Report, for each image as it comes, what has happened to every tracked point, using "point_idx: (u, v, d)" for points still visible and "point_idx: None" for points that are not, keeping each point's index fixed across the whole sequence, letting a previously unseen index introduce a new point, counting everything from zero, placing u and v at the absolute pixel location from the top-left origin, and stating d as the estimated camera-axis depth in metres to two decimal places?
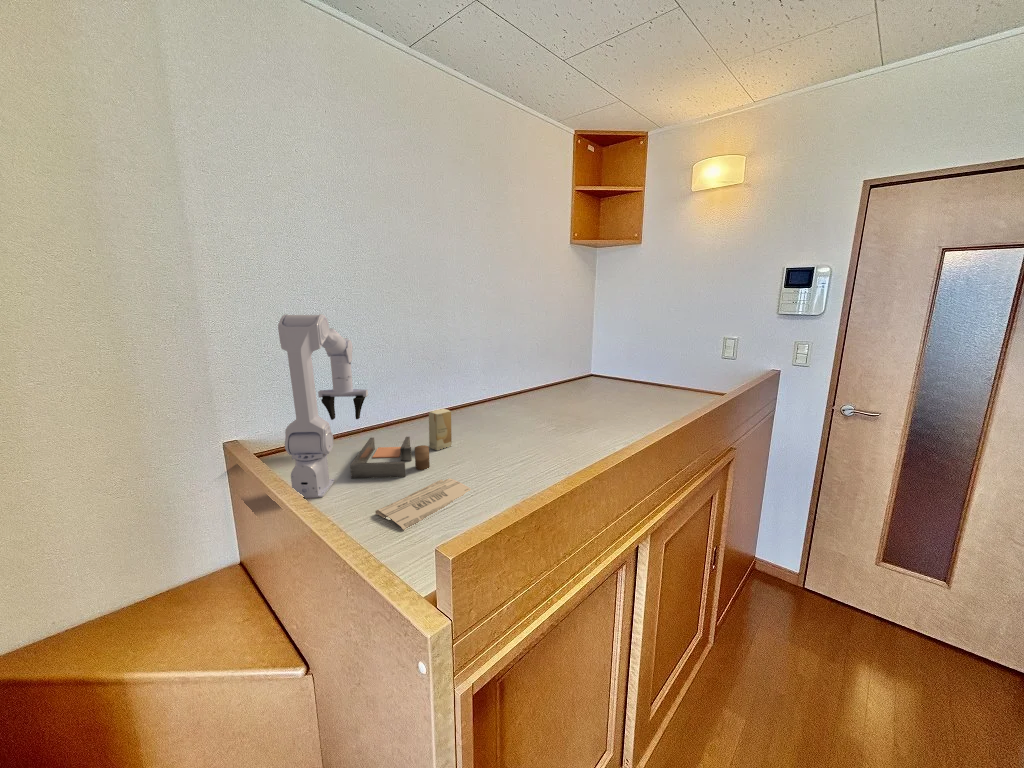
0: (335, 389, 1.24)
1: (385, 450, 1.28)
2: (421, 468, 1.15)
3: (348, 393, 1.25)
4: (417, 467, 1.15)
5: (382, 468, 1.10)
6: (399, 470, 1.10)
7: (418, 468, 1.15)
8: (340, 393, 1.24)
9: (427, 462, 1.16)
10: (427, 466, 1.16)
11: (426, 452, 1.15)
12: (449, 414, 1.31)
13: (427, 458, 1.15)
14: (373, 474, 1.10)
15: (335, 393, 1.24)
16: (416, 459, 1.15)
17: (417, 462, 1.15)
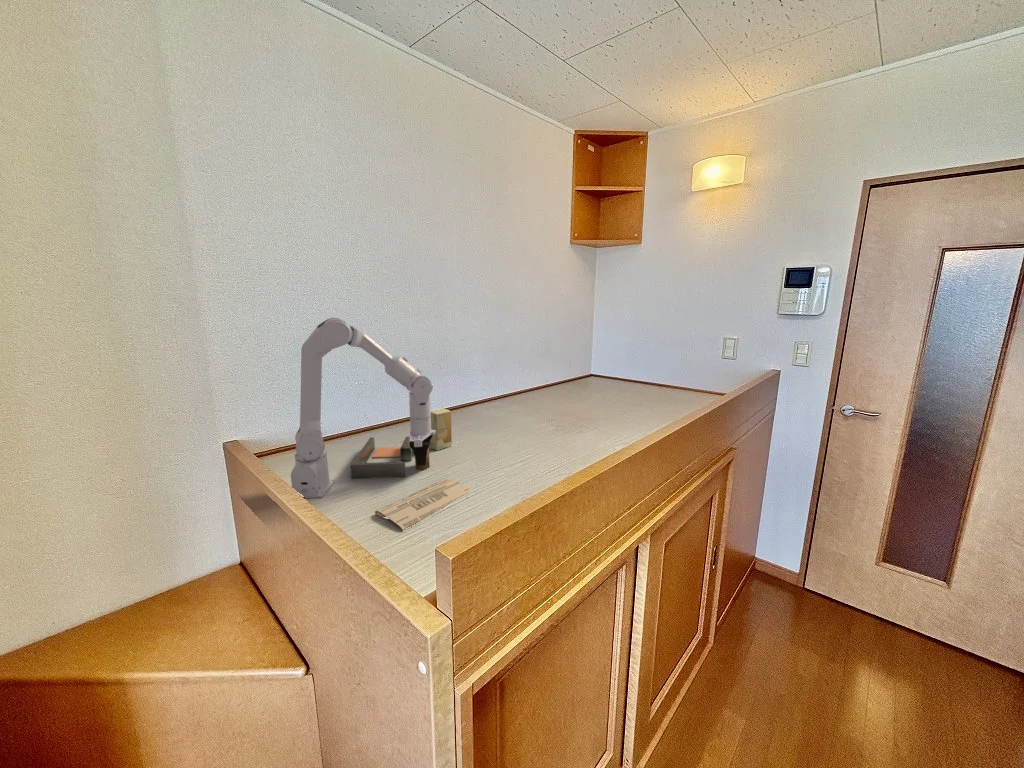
0: None
1: (385, 450, 1.28)
2: (421, 467, 1.15)
3: (411, 435, 1.12)
4: (417, 467, 1.15)
5: (382, 468, 1.10)
6: (399, 470, 1.10)
7: (418, 468, 1.15)
8: (410, 432, 1.14)
9: (427, 462, 1.16)
10: (427, 466, 1.16)
11: None
12: (449, 414, 1.31)
13: (427, 458, 1.15)
14: (373, 474, 1.10)
15: None
16: None
17: None
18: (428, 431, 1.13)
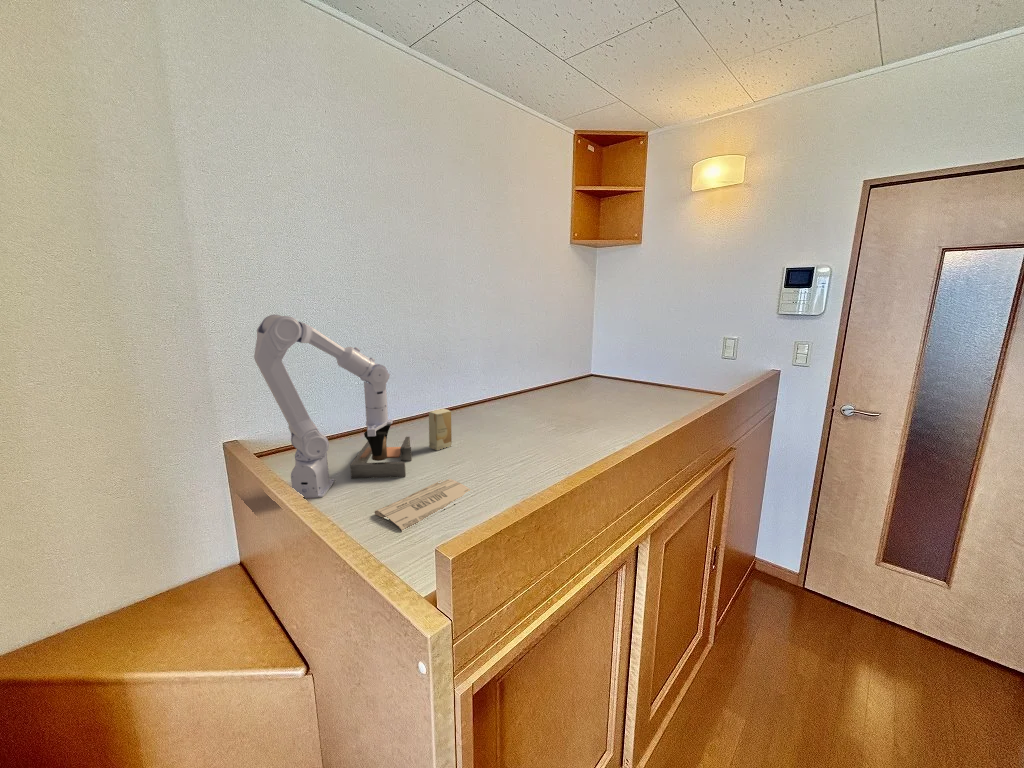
0: None
1: None
2: (377, 458, 1.13)
3: (366, 425, 1.10)
4: (373, 457, 1.13)
5: (382, 468, 1.10)
6: (399, 470, 1.10)
7: (374, 458, 1.13)
8: (366, 422, 1.13)
9: (384, 452, 1.14)
10: (384, 456, 1.14)
11: None
12: (449, 414, 1.31)
13: (384, 448, 1.14)
14: (373, 474, 1.10)
15: None
16: None
17: None
18: (384, 421, 1.11)
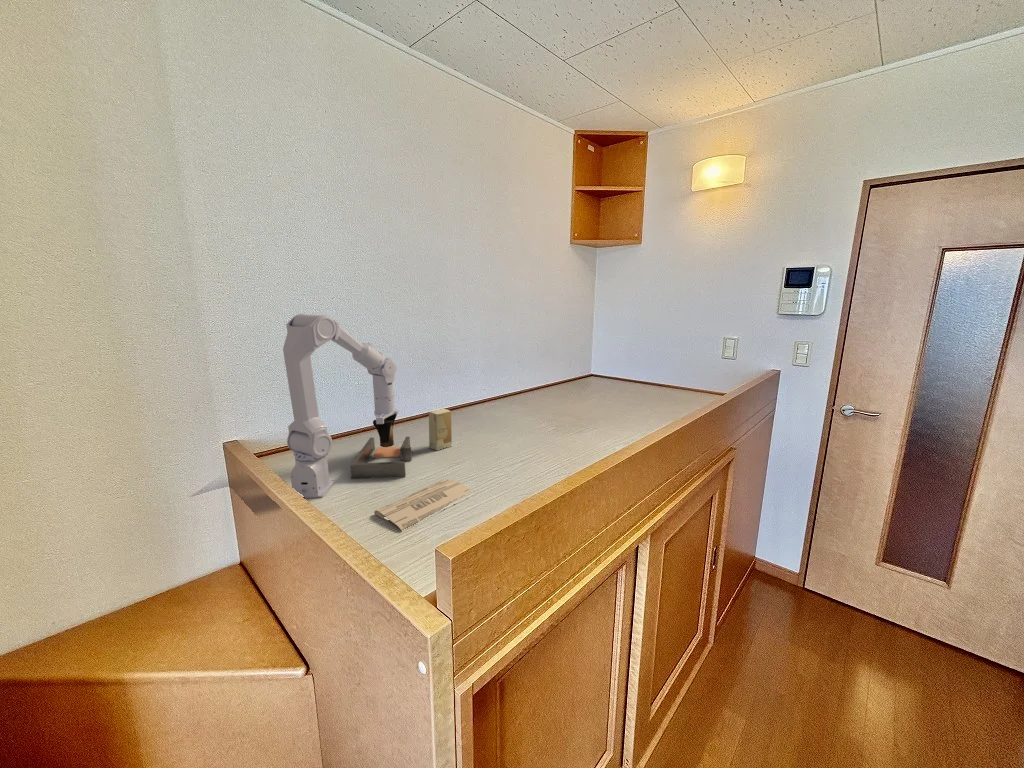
0: None
1: (385, 450, 1.28)
2: (385, 444, 1.23)
3: (375, 414, 1.21)
4: (381, 444, 1.24)
5: (382, 468, 1.10)
6: (399, 470, 1.10)
7: (382, 445, 1.23)
8: None
9: (391, 439, 1.24)
10: (391, 443, 1.24)
11: None
12: (449, 414, 1.31)
13: (391, 435, 1.24)
14: (373, 474, 1.10)
15: None
16: None
17: None
18: (391, 410, 1.21)
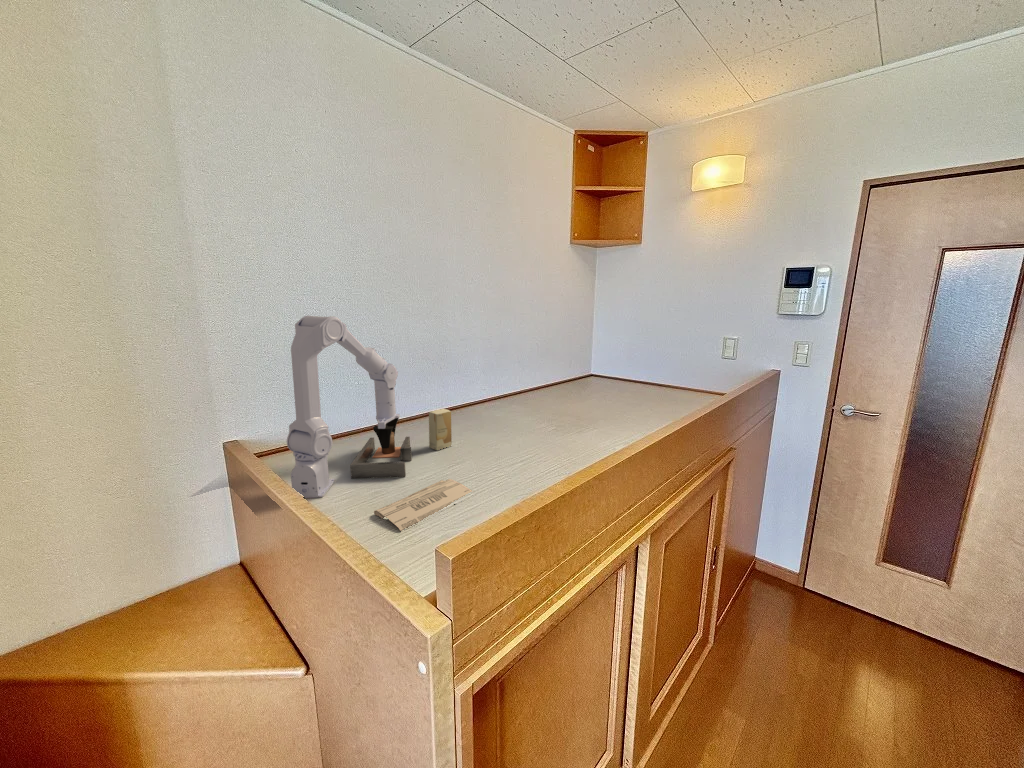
0: None
1: None
2: (386, 451, 1.25)
3: None
4: (383, 451, 1.26)
5: (382, 468, 1.10)
6: (399, 470, 1.10)
7: (384, 452, 1.26)
8: (376, 416, 1.25)
9: (392, 447, 1.26)
10: (392, 450, 1.26)
11: (391, 437, 1.25)
12: (449, 414, 1.31)
13: (392, 443, 1.26)
14: (373, 474, 1.10)
15: None
16: None
17: None
18: (392, 415, 1.23)
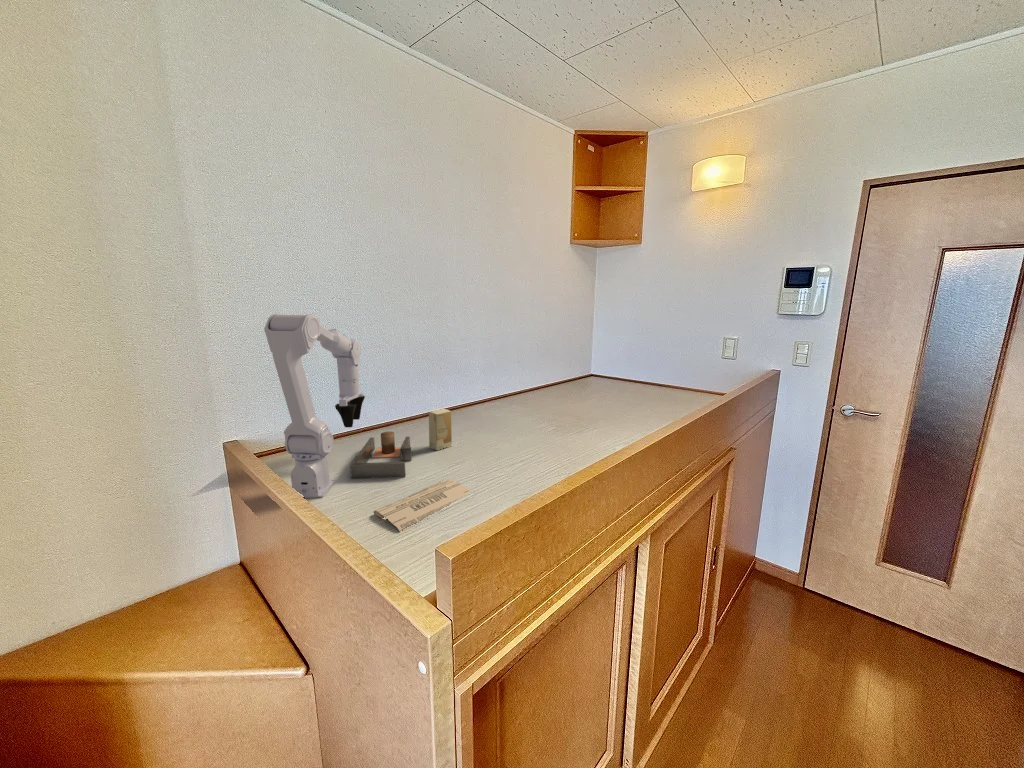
0: None
1: None
2: (386, 451, 1.25)
3: (339, 397, 1.19)
4: (383, 451, 1.26)
5: (382, 468, 1.10)
6: (399, 470, 1.10)
7: (384, 452, 1.26)
8: None
9: (392, 446, 1.26)
10: (392, 450, 1.26)
11: (391, 437, 1.25)
12: (449, 414, 1.31)
13: (392, 442, 1.26)
14: (373, 474, 1.10)
15: None
16: (382, 444, 1.25)
17: (383, 446, 1.25)
18: (356, 393, 1.20)
